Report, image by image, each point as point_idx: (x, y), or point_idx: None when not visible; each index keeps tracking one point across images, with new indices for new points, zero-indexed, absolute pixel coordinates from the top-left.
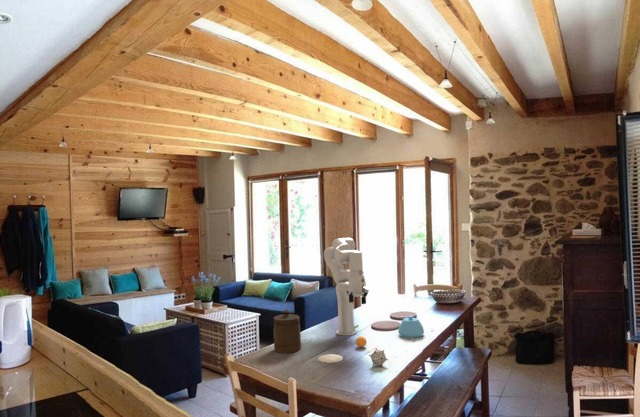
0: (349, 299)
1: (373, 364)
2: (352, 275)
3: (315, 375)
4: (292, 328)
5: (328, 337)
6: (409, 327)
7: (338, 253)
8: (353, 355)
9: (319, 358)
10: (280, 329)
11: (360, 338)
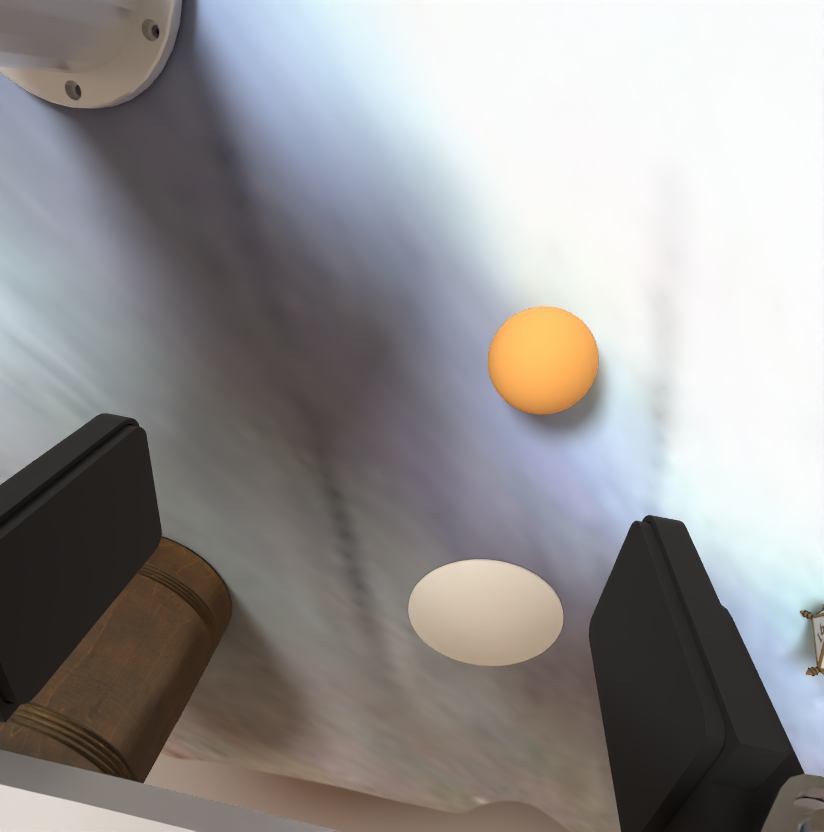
0: (96, 603)
1: (811, 617)
2: None
3: (564, 772)
4: (151, 765)
5: (87, 244)
6: None
7: None
8: (584, 521)
9: (431, 639)
10: None
11: (557, 407)
